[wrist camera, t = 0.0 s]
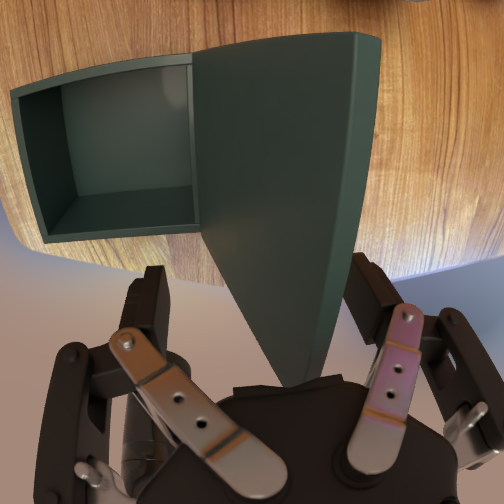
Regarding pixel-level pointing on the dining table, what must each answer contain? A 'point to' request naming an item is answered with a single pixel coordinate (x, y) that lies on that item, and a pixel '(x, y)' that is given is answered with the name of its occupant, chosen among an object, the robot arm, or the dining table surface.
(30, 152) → the caddy
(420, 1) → the food container
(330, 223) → the lid
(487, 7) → the dining table surface
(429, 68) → the dining table surface
